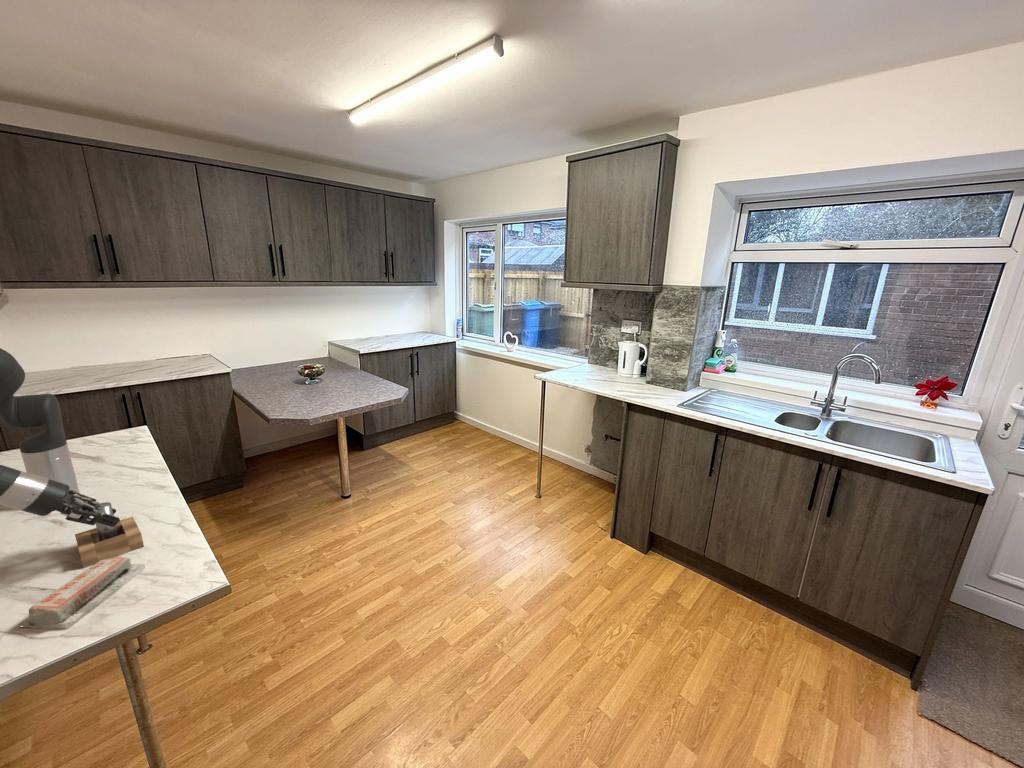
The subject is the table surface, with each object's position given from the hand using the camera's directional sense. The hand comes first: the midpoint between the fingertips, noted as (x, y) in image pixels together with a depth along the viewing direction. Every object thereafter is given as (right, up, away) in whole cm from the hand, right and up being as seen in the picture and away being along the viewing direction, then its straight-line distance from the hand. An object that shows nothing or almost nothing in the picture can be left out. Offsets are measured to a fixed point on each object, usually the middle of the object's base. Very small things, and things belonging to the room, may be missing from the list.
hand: (114, 518), depth 105 cm
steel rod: (-2, -8, 0) cm, 8 cm away
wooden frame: (-1, -8, +1) cm, 8 cm away
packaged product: (+9, -13, -15) cm, 21 cm away
